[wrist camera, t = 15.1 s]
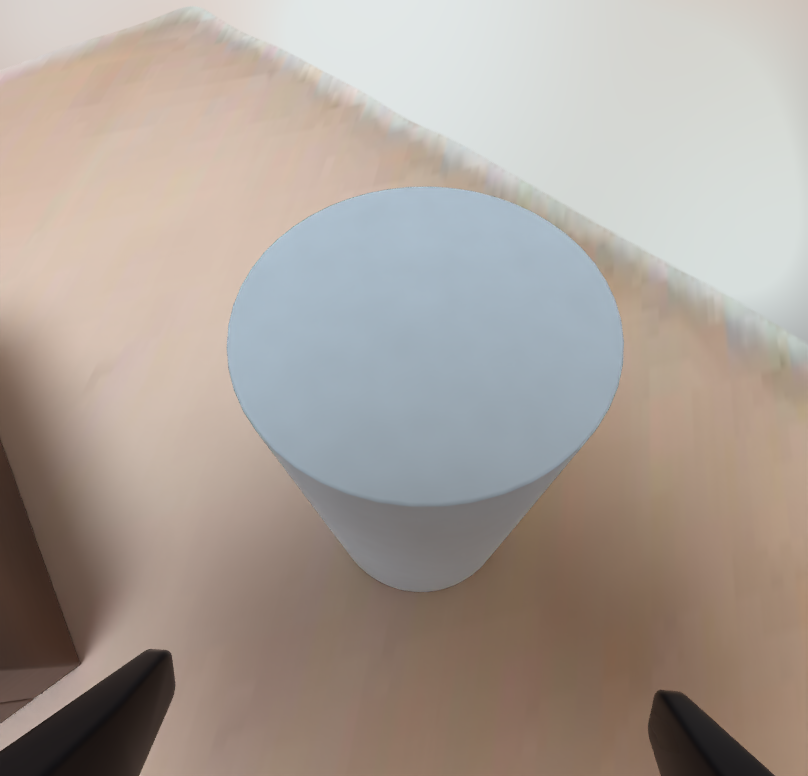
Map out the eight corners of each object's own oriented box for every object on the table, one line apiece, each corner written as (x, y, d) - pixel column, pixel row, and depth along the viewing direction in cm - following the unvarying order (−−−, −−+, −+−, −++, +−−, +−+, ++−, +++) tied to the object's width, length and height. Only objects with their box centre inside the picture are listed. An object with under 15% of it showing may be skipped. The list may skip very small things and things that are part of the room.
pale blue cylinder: (509, 599, 15) (665, 522, 6) (321, 585, 16) (170, 490, 6) (500, 384, 19) (582, 130, 10) (352, 377, 20) (291, 125, 10)
